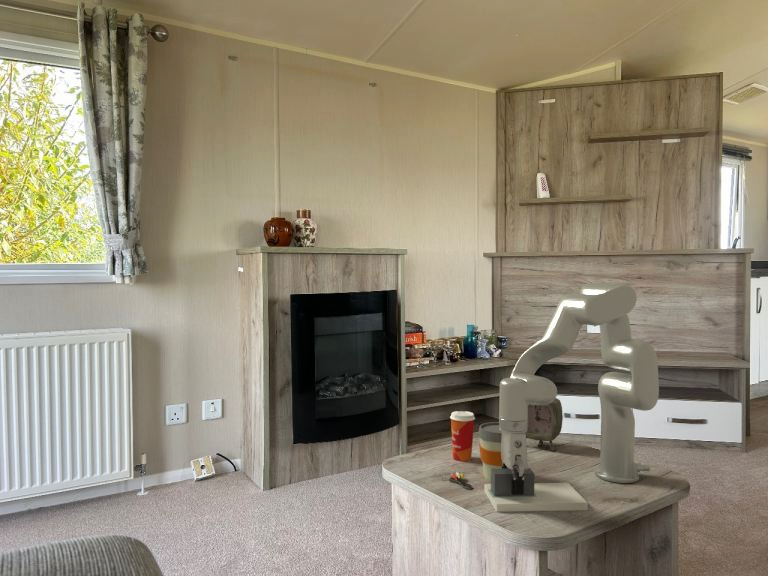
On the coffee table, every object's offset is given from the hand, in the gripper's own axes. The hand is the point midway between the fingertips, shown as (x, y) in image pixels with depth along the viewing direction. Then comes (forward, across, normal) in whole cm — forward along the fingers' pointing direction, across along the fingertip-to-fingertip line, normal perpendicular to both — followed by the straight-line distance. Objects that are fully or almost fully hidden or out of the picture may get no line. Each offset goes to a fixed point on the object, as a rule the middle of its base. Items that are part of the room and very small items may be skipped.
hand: (512, 487), depth 158 cm
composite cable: (+4, +13, +12) cm, 18 cm away
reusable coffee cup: (+4, +18, -1) cm, 18 cm away
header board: (+4, 0, -6) cm, 7 cm away
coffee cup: (+4, +35, +7) cm, 36 cm away
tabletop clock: (+4, +47, -23) cm, 52 cm away
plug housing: (+2, 0, 0) cm, 2 cm away
